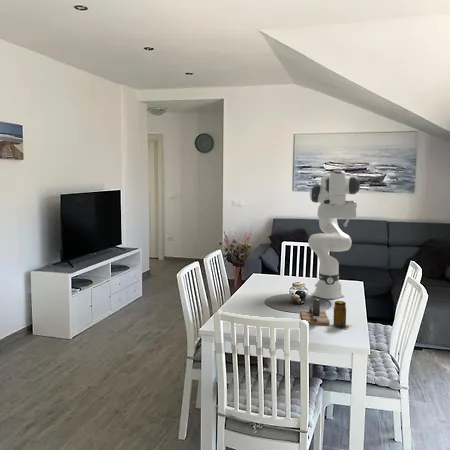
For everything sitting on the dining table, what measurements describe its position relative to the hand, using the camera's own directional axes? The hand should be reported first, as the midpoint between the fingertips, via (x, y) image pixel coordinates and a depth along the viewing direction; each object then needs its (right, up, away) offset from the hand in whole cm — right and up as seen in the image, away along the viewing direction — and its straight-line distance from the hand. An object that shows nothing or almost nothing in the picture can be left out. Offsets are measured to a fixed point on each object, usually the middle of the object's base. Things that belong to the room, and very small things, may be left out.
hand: (336, 226), depth 245 cm
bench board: (-13, -48, -8) cm, 51 cm away
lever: (-13, -46, -8) cm, 49 cm away
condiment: (-2, -50, -18) cm, 53 cm away
